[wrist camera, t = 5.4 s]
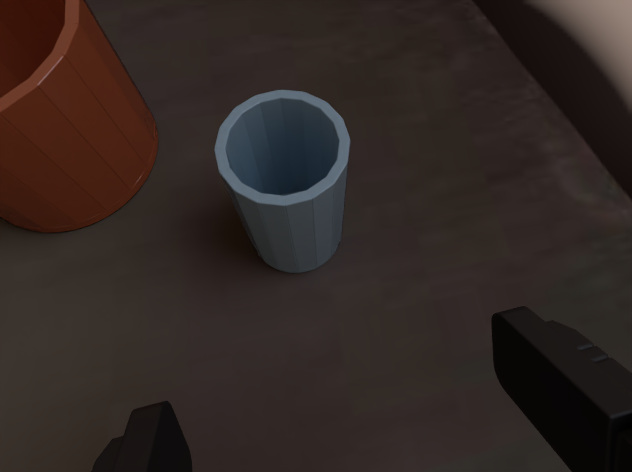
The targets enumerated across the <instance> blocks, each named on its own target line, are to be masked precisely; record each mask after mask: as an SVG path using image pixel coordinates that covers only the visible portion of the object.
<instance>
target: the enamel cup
mask: <svg viewBox="0 0 632 472" xmlns="http://www.w3.org/2000/svg"><path fill="white" fill-rule="evenodd" d="M214 149H215V150H214V151H215V156H216V161H217V165H218V170H219V173H220V175H221V177H222V179H223V182H224V184H225V186H226V188H227V190H228V193H229V195H230V197H231V199H232V201H233V204H234V206H235V208H236V210H237V213H238V215H239V217H240V219H241V221H242V224H243V226H244V228H245V230H246V232H247V235H248V237H249V239H250V241H251V243H252V246H253V247H254V249H255V250H256V252H257V253H258V255H259V256H260V257H261V259H262V260H263V261H264V262H266V263H267V264H268V265H270V266H271V267H273V268H275V269H277V270H280V271H283V272H289V273H302V272H307V271H310V270H313V269H316V268H318V267H320V266H321V265H323V264H324V263H326V262H327V261H328V260H329V259H330V258H331V257H332V256H333V254H334V253H335V252H336V250H337V248H338V246H339V243H340V240H341V236H342V227H343V218H344V207H345V195H346V184H347V173H348V162H349V151H350V137H349V135H348V132H347V129H346V126H345V123H344V120H343V119H342V117H341V116H340V115H339V114H338V113H337V112H336V111H335V110H334V109H333V108H332V107H331V106H330V105H329V104H328V103H326V101H324V100H321V99H319V98H317V97H315V96H313V95H310V94H308V93H306V92H305V93H304V92H300V91H289V90H276V91H272V92H267V93H263V94H259V95H256V96H253V97H252V98H250V99H248V100H247V101H245V102H244V103H242V104H240V105H239V106H237V107H235V109H233V111H232V112H231V113H230V114H229V116H228V117H227V118H226V120H225V121H224V122H223V124H222V125H221V126H220V128H219V132H218V136H217V140H216V144H215V148H214Z"/></svg>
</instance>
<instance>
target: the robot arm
mask: <svg viewBox="0 0 632 472" xmlns="http://www.w3.org/2000/svg"><path fill="white" fill-rule="evenodd" d="M492 342H493V362H494V369H495V372H496V375H497V378H498V380H499V382H500V384H501V386H502V387H503V389H504V390H505V391H506V393H507V394H508V395H509V396H510V397H511V399H512V400H513V401H514V402H515V403H516V405H517V406H518V407H519V408H520V409H521V411H522V412H523V413H524V414H525V416H526V417H527V418H528V419H529V420H530V422H531V423H532V424H533V425H534V426H535V428H536V429H537V430H538V431H539V432H540V434H541V435H542V436H543V437H544V439H545V440H546V441H547V442H548V443H549V445H550V446H551V447H552V448H553V449H554V451H555V452H556V453H557V454H558V455H559V457H560V458H561V459H562V460H563V462H564V463H565V464H566V465H567V466H568V468H569V469H570V470H571V471H572V472H632V373H631V372H630V371H628V370H627V369H626V368H624V367H623V366H622V365H621V364H619V363H618V362H617V361H615V360H614V359H613V358H609V357H608V354H606V353H605V352H604V351H602V350H601V349H600V348H598V347H597V346H594V345H593V343H592V342H591V341H589V340H588V339H587V338H585V337H584V336H583V335H582V334H580V333H579V332H578V331H576V330H575V329H572V328H570V327H567V326H565V325H563V324H560V323H558V322H555V321H553V320H552V321H548V322H545V321H544V320H542V319H541V318H540V317H539V316H538V315H536V314H535V313H534V312H533V311H532V310H530V309H529V308H528V307H525V306H521V307H517V308H513V309H510V310H506V311H502V312H498V313H495V314H493V316H492ZM91 472H192V460H191V454H190V450H189V447H188V445H187V442H186V440H185V438H184V435H183V433H182V430H181V428H180V425H179V423H178V420H177V418H176V415H175V413H174V411H173V408H172V406H171V404H170V403H169V402H168V401H164V402H160V403H156V404H152V405H148V406H145V407H141V408H137V409H134V410H133V411H132V412H131V415H130V418H129V421H128V424H127V427H126V430H125V433H124V436H121V437H118V438H114V439H112V440H111V441H110V443H109V444H108V445H107V447H106V448H105V449H104V450H103V452H102V453H101V454H100V456H99V457H98V458H97V459H96V461H95V464H94V466H93V469H92V471H91Z"/></svg>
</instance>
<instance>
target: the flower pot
mask: <svg viewBox="0 0 632 472" xmlns="http://www.w3.org/2000/svg"><path fill="white" fill-rule="evenodd" d="M157 149H158V131H157V127H156V123H155V120H154V118H153V115H152V113H151V112H150V110H149V108H148V106H147V104H146V102H145V100H144V98H143V97H142V95H141V93H140V92H139V90H138V88H137V86H136V85H135V83H134V81H133V80H132V78H131V76H130V75H129V73H128V71H127V69H126V68H125V66H124V64H123V63H122V61H121V59H120V58H119V56H118V54H117V52H116V51H115V49H114V47H113V46H112V44H111V42H110V41H109V39H108V37H107V35H106V34H105V32H104V30H103V29H102V27H101V25H100V24H99V22H98V20H97V19H96V17H95V15H94V13H93V12H92V10H91V8H90V7H89V5H88V3H87V2H86V0H0V218H2V219H4V220H6V221H7V222H9V223H11V224H13V225H15V226H17V227H20V228H23V229H26V230H31V231H36V232H49V233H53V232H65V231H70V230H76V229H79V228H82V227H86V226H89V225H91V224H93V223H96V222H98V221H100V220H102V219H104V218H106V217H108V216H109V215H111V214H113V213H114V212H115V211H117V210H118V209H120V208H121V207H122V206H123V205H125V204H126V203H127V202H128V201H129V200H130V199H131V198H132V197H133V196H134V195H135V194H136V193H137V192H138V191H139V189H140V188H141V187H142V185H143V184H144V182H145V181H146V179H147V177H148V176H149V174H150V172H151V170H152V167H153V165H154V162H155V159H156V154H157Z"/></svg>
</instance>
